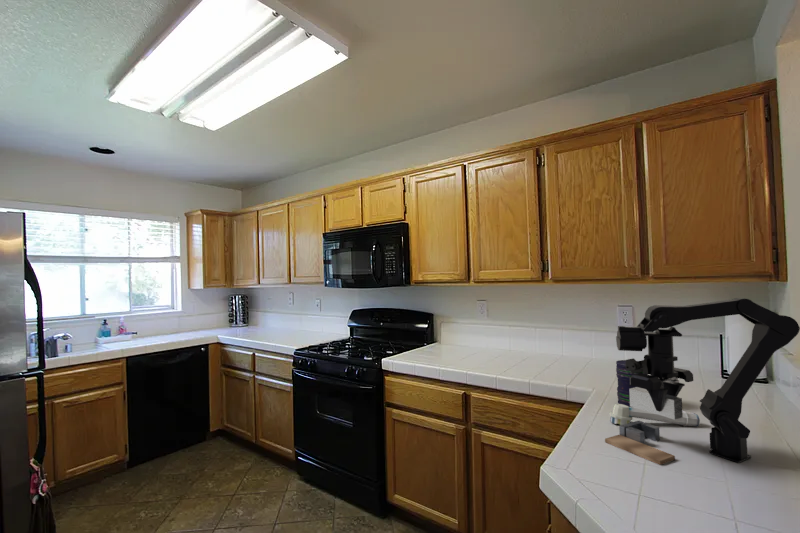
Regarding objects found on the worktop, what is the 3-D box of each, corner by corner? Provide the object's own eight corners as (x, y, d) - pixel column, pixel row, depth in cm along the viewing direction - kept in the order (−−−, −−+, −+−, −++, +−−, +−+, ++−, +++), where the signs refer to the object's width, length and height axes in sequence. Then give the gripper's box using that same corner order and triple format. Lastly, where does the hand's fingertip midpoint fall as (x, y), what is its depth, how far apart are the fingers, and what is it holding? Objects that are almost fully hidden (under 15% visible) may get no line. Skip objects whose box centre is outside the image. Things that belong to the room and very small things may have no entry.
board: (674, 459, 97) (674, 455, 97) (660, 465, 95) (660, 460, 95) (619, 438, 111) (619, 434, 111) (605, 442, 108) (605, 438, 108)
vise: (659, 439, 109) (659, 427, 109) (640, 445, 105) (639, 433, 105) (639, 432, 114) (638, 420, 114) (619, 438, 111) (619, 425, 111)
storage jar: (611, 402, 142) (609, 361, 142) (629, 398, 146) (627, 359, 146) (637, 410, 133) (635, 367, 133) (655, 406, 137) (653, 364, 137)
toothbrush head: (702, 416, 116) (615, 403, 119) (699, 438, 116) (613, 424, 119) (691, 410, 122) (608, 398, 125) (688, 431, 121) (606, 418, 124)
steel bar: (682, 417, 101) (681, 398, 101) (674, 419, 100) (673, 400, 100) (637, 404, 112) (637, 386, 112) (630, 406, 110) (629, 388, 111)
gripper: (652, 344, 116) (654, 396, 115) (610, 350, 108) (612, 406, 107) (693, 350, 105) (695, 407, 105) (650, 357, 98) (653, 419, 97)
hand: (663, 409), depth 104 cm, fingers closed on steel bar, 3 cm apart
